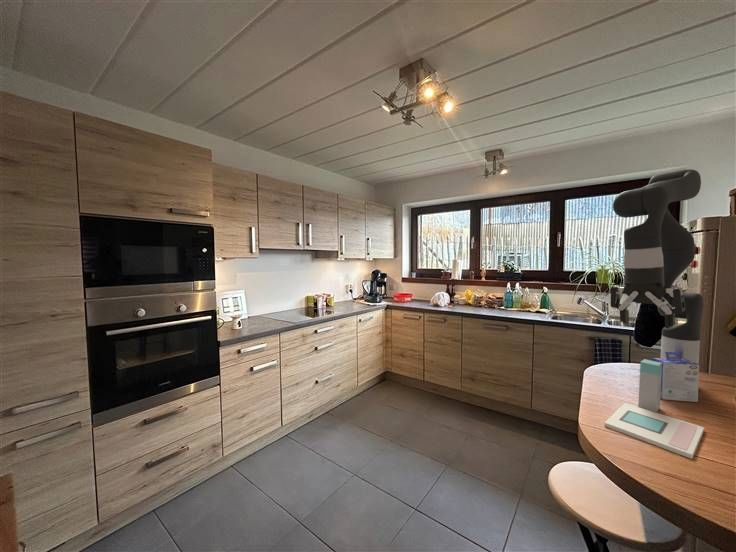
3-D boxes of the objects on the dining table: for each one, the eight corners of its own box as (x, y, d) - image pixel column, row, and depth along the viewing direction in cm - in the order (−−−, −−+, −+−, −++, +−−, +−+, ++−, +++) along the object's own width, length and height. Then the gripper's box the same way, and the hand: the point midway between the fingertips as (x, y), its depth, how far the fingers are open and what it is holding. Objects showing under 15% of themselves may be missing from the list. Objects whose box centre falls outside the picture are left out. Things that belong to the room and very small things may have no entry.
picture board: (624, 406, 89) (624, 402, 89) (703, 431, 76) (704, 427, 76) (604, 426, 79) (604, 422, 79) (692, 458, 66) (692, 454, 66)
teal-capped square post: (641, 402, 91) (644, 359, 91) (659, 408, 88) (662, 362, 87) (638, 406, 89) (640, 361, 88) (656, 412, 86) (658, 365, 85)
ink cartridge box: (684, 394, 97) (686, 351, 96) (699, 402, 91) (702, 357, 90) (649, 392, 99) (651, 350, 98) (662, 400, 93) (664, 355, 92)
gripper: (686, 262, 72) (689, 326, 74) (615, 264, 85) (618, 319, 86) (676, 266, 69) (679, 333, 70) (604, 267, 81) (607, 324, 82)
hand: (646, 325), depth 78 cm, fingers open, 8 cm apart
